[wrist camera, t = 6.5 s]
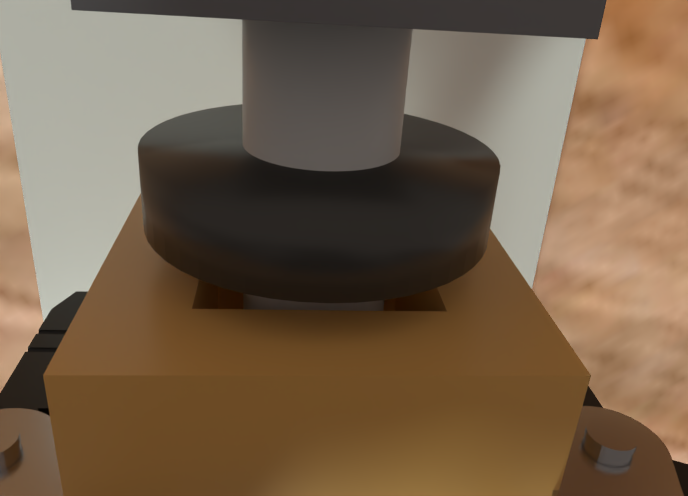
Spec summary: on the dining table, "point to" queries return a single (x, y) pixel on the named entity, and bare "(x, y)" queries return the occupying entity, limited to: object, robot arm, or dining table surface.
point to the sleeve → (310, 389)
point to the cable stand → (291, 138)
